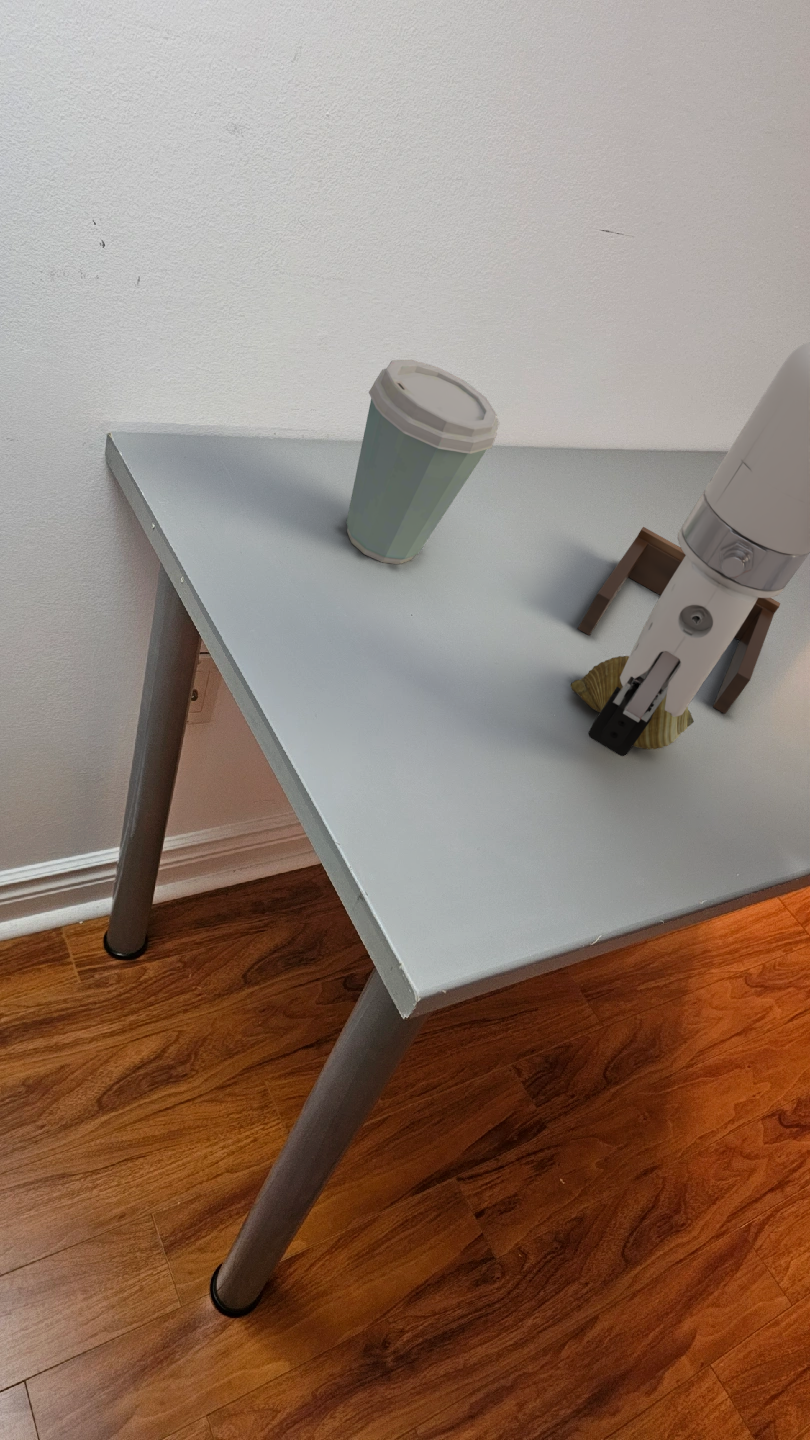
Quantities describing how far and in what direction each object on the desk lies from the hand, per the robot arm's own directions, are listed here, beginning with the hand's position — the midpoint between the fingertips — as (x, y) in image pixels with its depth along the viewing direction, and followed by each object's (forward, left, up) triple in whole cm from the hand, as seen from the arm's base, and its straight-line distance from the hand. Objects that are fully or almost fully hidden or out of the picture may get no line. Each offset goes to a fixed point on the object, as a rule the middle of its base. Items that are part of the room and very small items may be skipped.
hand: (608, 740), depth 78 cm
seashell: (0, -6, -2) cm, 6 cm away
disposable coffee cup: (+25, -11, -2) cm, 27 cm away
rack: (0, -22, -2) cm, 22 cm away
